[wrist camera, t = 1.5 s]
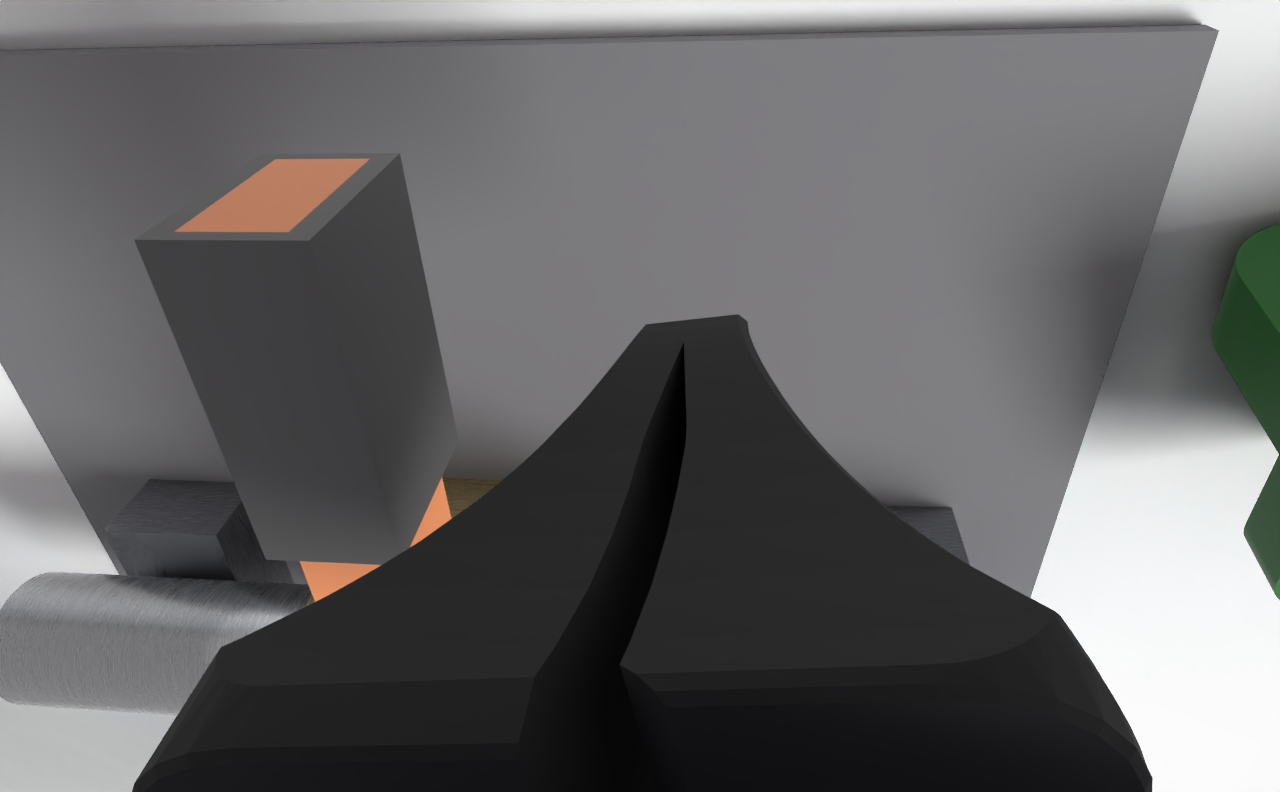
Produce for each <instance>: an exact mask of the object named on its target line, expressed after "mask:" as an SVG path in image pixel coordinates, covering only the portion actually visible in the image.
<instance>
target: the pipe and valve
mask: <svg viewBox="0 0 1280 792" xmlns="http://www.w3.org/2000/svg"><path fill="white" fill-rule="evenodd" d="M442 479H443V483H444V488H445V492H446V496H447V501H448V505H449V510H450V514H451V519H452V518H453V517H455V516H456V515H458V514H459V513H460V512H462V511H463V510H465V509H466V508H467V507H469V506H470V505H472V504H473V503H474V502H476V501H477V500H479V499H480V498H481V497H482V496H484V495H485V494H486V493H487V492H489V491H490V490H491V489H492V488H494V487H495V486H496V485H497V484H498V483H499V482H501V481H502V480H493V479H463V478H442ZM885 506H886V507H888V508H889V509H890V510H892V511H893V512H894V513H896V514H897V515H898V516H899V517H901V518H902V519H903V520H905V521H906V522H907V523H909V524H910V525H911V526H912V527H914V528H915V529H916V530H918V531H919V532H920V533H922V534H923V535H924V536H925V537H927V538H928V539H929V540H931V541H932V542H934V543H935V544H937V545H939V546H940V547H942V548H943V549H945V550H946V551H948V552H949V553H951V554H952V555H954V556H955V557H957V558H958V559H960V560H962V561H963V562H965V563H967V564H968V565H970V563H969V560H968V557H967V554H966V551H965V547H964V544H963V541H962V538H961V535H960V532H959V528H958V525H957V522H956V519H955V516H954V513H953V509H952V508H947V507H919V506H891V505H885ZM103 532H104V534H105V535H106V537H107V539H108V541H109V543H110V544H111V546H112V548H113V550H114V552H115V553H116V555H117V557H118V559H119V561H120V562H121V564H122V566H123V568H124V570H125V571H126V573H127V575H128V576H126V575H106V574H85V573H64V572H49V573H44V574H41V575H38V576H36V577H34V578H32V579H30V580H28V581H27V582H25V583H24V584H23V585H21V586H20V587H19V588H18V589H17V590H16V591H15V592H14V593H13V594H12V595H11V596H10V597H9V599H8V600H7V601H6V602H5V604H4V605H3V607H2V608H1V610H0V696H1V697H2V698H3V699H5V700H6V701H8V702H11V703H14V704H18V705H33V706H48V707H63V708H78V709H93V710H108V711H123V712H138V713H153V714H168V715H178V714H179V712H180V710H181V709H182V707H183V706H184V704H185V703H186V701H187V699H188V698H189V696H190V695H191V693H192V691H193V690H194V688H195V687H196V685H197V684H198V682H199V680H200V679H201V677H202V676H203V674H204V672H205V671H206V669H207V668H208V666H209V665H210V663H211V661H212V660H213V658H214V657H215V655H216V654H217V652H218V651H219V649H220V648H221V647H222V646H224V645H227V644H229V643H231V642H233V641H236V640H238V639H240V638H242V637H244V636H246V635H249V634H251V633H253V632H255V631H257V630H259V629H261V628H263V627H265V626H267V625H269V624H271V623H273V622H275V621H277V620H279V619H281V618H283V617H285V616H287V615H290V614H292V613H294V612H296V611H298V610H300V609H302V608H304V607H306V606H308V605H310V604H312V603H314V602H315V600H314V598H313V595H312V593H311V590H310V587H309V585H308V584H294V581H293V579H292V576H291V574H290V571H289V568H288V566H287V563H286V561H285V560H266V559H265V556H264V554H263V551H262V549H261V546H260V544H259V542H258V539H257V537H256V534H255V532H254V529H253V527H252V525H251V522H250V520H249V517H248V515H247V512H246V510H245V508H244V505H243V503H242V500H241V498H240V495H239V493H238V491H237V488H236V486H235V483H234V482H218V481H189V480H161V479H149V480H148V481H147V483H146V484H145V485H144V486H143V487H142V488H141V489H140V490H139V491H138V493H137V494H136V495H135V496H134V497H133V498H132V499H131V500H130V501H129V502H128V504H127V505H126V506H125V507H124V508H123V509H122V510H121V511H120V512H119V514H118V515H117V516H116V517H115V518H114V519H113V520H112V521H111V522H110V524H109V525H108V526H107V527H106V528H105V529H104V530H103Z"/></svg>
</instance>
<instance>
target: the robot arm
mask: <svg viewBox="0 0 1280 792" xmlns="http://www.w3.org/2000/svg"><path fill="white" fill-rule="evenodd" d="M132 792H1152V776H1151V774H1150V772H1149V770H1148V768H1147V766H1146V763H1145V760H1144V757H1143V754H1142V751H1141V749H1140V746H1139V744H1138V742H1137V740H1136V738H1135V735H1134V733H1133V731H1132V729H1131V727H1130V725H1129V723H1128V721H1127V720H1126V718H1125V716H1124V714H1123V712H1122V711H1121V709H1120V707H1119V705H1118V703H1117V702H1116V700H1115V699H1114V697H1113V695H1112V694H1111V692H1110V690H1109V689H1108V687H1107V685H1106V684H1105V682H1104V681H1103V679H1102V677H1101V676H1100V674H1099V672H1098V671H1097V669H1096V667H1095V666H1094V664H1093V663H1092V661H1091V660H1090V658H1089V657H1088V655H1087V654H1086V652H1085V651H1084V649H1083V648H1082V646H1081V645H1080V643H1079V642H1078V640H1077V639H1076V637H1075V636H1074V635H1073V633H1072V632H1071V630H1070V629H1069V627H1068V626H1067V625H1066V623H1065V622H1064V620H1063V619H1062V618H1061V616H1060V615H1059V614H1057V613H1056V612H1055V611H1053V610H1051V609H1050V608H1048V607H1046V606H1044V605H1042V604H1040V603H1038V602H1037V601H1035V600H1033V599H1031V598H1029V597H1027V596H1025V595H1024V594H1022V593H1020V592H1018V591H1016V590H1014V589H1012V588H1011V587H1009V586H1007V585H1005V584H1003V583H1001V582H1000V581H998V580H996V579H994V578H992V577H990V576H988V575H987V574H985V573H983V572H981V571H979V570H977V569H975V568H974V567H972V566H970V565H968V564H967V563H965V562H963V561H962V560H960V559H958V558H957V557H955V556H954V555H952V554H951V553H949V552H948V551H946V550H945V549H943V548H942V547H940V546H939V545H937V544H935V543H934V542H932V541H931V540H929V539H928V538H927V537H925V536H924V535H923V534H922V533H920V532H919V531H918V530H916V529H915V528H914V527H912V526H911V525H910V524H909V523H907V522H906V521H905V520H903V519H902V518H901V517H899V516H898V515H897V514H896V513H894V512H893V511H892V510H890V509H889V508H888V507H886V506H885V505H884V504H883V503H881V502H880V501H879V500H877V499H876V498H875V497H874V496H873V495H872V494H871V493H870V492H868V491H867V490H866V489H865V488H864V487H863V486H862V485H861V484H860V483H859V482H858V481H856V480H855V479H854V478H853V477H852V476H851V475H850V474H849V473H848V472H847V471H846V470H845V469H844V468H843V467H842V466H841V465H840V464H839V463H838V462H837V461H836V460H835V459H834V458H833V457H832V456H831V455H830V454H829V453H828V452H827V451H826V450H825V449H824V447H823V446H822V445H821V444H820V443H819V442H818V441H817V439H816V438H815V437H814V436H813V435H812V434H811V433H810V431H809V430H808V429H807V428H806V426H805V425H804V424H803V422H802V421H801V420H800V419H799V417H798V416H797V415H796V414H795V412H794V411H793V410H792V408H791V407H790V405H789V404H788V403H787V401H786V400H785V399H784V397H783V396H782V394H781V392H780V391H779V389H778V388H777V386H776V385H775V383H774V382H773V380H772V378H771V377H770V375H769V374H768V372H767V370H766V369H765V367H764V365H763V363H762V361H761V359H760V357H759V355H758V353H757V351H756V349H755V347H754V345H753V342H752V340H751V337H750V334H749V327H748V321H746V320H745V319H744V318H743V317H741V316H740V315H739V314H736V315H726V316H717V317H708V318H699V319H690V320H681V321H672V322H663V323H654V324H646V325H645V326H644V327H643V328H642V329H641V331H640V332H639V333H638V334H637V335H636V337H635V338H634V339H633V340H632V341H631V343H630V344H629V345H628V346H627V348H626V349H625V350H624V351H623V353H622V354H621V355H620V357H619V358H618V359H617V360H616V362H615V363H614V364H613V365H612V367H611V368H610V369H609V370H608V372H607V373H606V374H605V375H604V377H603V378H602V379H601V380H600V382H599V383H598V384H597V385H596V386H595V387H594V389H593V390H592V391H591V392H590V393H589V395H588V396H587V397H586V398H585V399H584V400H583V402H582V403H581V404H580V405H579V406H578V407H577V408H576V410H575V411H574V412H573V413H572V414H571V415H570V416H569V417H568V418H567V419H566V420H565V421H564V422H563V423H562V424H561V425H560V426H559V427H558V428H557V429H556V431H555V432H554V433H553V434H552V435H551V436H550V437H549V438H548V439H547V440H546V441H545V442H544V443H543V444H542V445H541V446H540V447H539V448H538V449H537V450H536V451H535V452H534V453H533V454H532V455H531V456H529V457H528V458H527V459H526V460H525V461H524V462H523V463H522V464H521V465H520V466H518V467H517V468H516V469H515V470H514V471H513V472H511V473H510V474H509V475H508V476H507V477H505V478H504V479H503V480H502V481H501V482H499V483H498V484H497V485H496V486H495V487H494V488H492V489H491V490H490V491H489V492H487V493H486V494H485V495H484V496H482V497H481V498H480V499H479V500H477V501H476V502H474V503H473V504H472V505H470V506H469V507H467V508H466V509H465V510H463V511H462V512H460V513H459V514H458V515H456V516H455V517H453V518H452V519H451V520H449V521H448V522H446V523H445V524H443V525H442V526H441V527H439V528H438V529H436V530H435V531H434V532H432V533H431V534H429V535H428V536H427V537H425V538H424V539H422V540H421V541H419V542H418V543H416V544H415V545H413V546H412V547H410V548H408V549H407V550H405V551H404V552H402V553H400V554H399V555H397V556H396V557H394V558H392V559H391V560H389V561H387V562H386V563H384V564H383V565H381V566H379V567H378V568H376V569H374V570H372V571H371V572H369V573H367V574H365V575H364V576H362V577H360V578H358V579H357V580H355V581H353V582H351V583H350V584H348V585H346V586H344V587H342V588H341V589H339V590H337V591H335V592H333V593H331V594H329V595H328V596H326V597H324V598H322V599H320V600H318V601H316V602H314V603H312V604H310V605H308V606H306V607H304V608H302V609H300V610H298V611H296V612H294V613H292V614H290V615H287V616H285V617H283V618H281V619H279V620H277V621H275V622H273V623H271V624H269V625H267V626H265V627H263V628H261V629H259V630H257V631H255V632H253V633H251V634H249V635H246V636H244V637H242V638H240V639H238V640H236V641H233V642H231V643H229V644H227V645H224V646H222V647H221V648H220V649H219V651H218V652H217V654H216V655H215V657H214V658H213V660H212V661H211V663H210V665H209V666H208V668H207V669H206V671H205V672H204V674H203V676H202V677H201V679H200V680H199V682H198V684H197V685H196V687H195V688H194V690H193V691H192V693H191V695H190V696H189V698H188V699H187V701H186V703H185V704H184V706H183V707H182V709H181V710H180V712H179V714H178V715H177V717H176V718H175V720H174V722H173V723H172V725H171V726H170V728H169V730H168V731H167V733H166V734H165V736H164V737H163V739H162V741H161V742H160V744H159V745H158V747H157V749H156V750H155V752H154V753H153V755H152V756H151V758H150V760H149V761H148V763H147V764H146V766H145V768H144V769H143V771H142V772H141V774H140V776H139V777H138V779H137V780H136V782H135V784H134V787H133V791H132Z"/></svg>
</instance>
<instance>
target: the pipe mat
mask: <svg viewBox="0 0 1280 792" xmlns="http://www.w3.org/2000/svg"><path fill="white" fill-rule="evenodd" d="M1218 32H1219V30H1216V29H1214V28H1211V27H1209V26H1207V25H1172V26H1125V27H1078V28H1031V29H984V30H937V31H890V32H843V33H796V34H749V35H702V36H655V37H607V38H560V39H513V40H466V41H419V42H372V43H325V44H278V45H231V46H184V47H137V48H90V49H43V50H0V362H1V364H2V366H3V368H4V370H5V371H6V373H7V375H8V377H9V379H10V380H11V382H12V384H13V386H14V387H15V389H16V391H17V393H18V395H19V396H20V398H21V400H22V402H23V403H24V405H25V407H26V409H27V411H28V412H29V414H30V416H31V418H32V420H33V421H34V423H35V425H36V427H37V428H38V430H39V432H40V434H41V436H42V437H43V439H44V441H45V443H46V444H47V446H48V448H49V450H50V452H51V453H52V455H53V457H54V459H55V461H56V462H57V464H58V466H59V468H60V469H61V471H62V473H63V475H64V477H65V478H66V480H67V482H68V484H69V485H70V487H71V489H72V491H73V493H74V494H75V496H76V498H77V500H78V502H79V503H80V505H81V507H82V509H83V510H84V512H85V514H86V516H87V518H88V519H89V521H90V523H91V525H92V526H93V528H94V530H95V532H96V534H97V535H98V537H99V539H100V541H101V542H102V544H103V546H104V548H105V550H106V551H107V553H108V555H109V557H110V559H111V560H112V562H113V564H114V566H115V567H116V569H117V571H118V573H119V575H126V576H128V575H127V573H126V571H125V570H124V568H123V566H122V564H121V562H120V561H119V559H118V557H117V555H116V553H115V552H114V550H113V548H112V546H111V544H110V543H109V541H108V539H107V537H106V535H105V534H104V532H103V530H104V529H105V528H106V527H107V526H108V525H109V524H110V522H111V521H112V520H113V519H114V518H115V517H116V516H117V515H118V514H119V512H120V511H121V510H122V509H123V508H124V507H125V506H126V505H127V504H128V502H129V501H130V500H131V499H132V498H133V497H134V496H135V495H136V494H137V493H138V491H139V490H140V489H141V488H142V487H143V486H144V485H145V484H146V483H147V481H148V480H149V479H161V480H189V481H218V482H234V481H233V479H232V476H231V474H230V471H229V469H228V466H227V464H226V462H225V459H224V457H223V454H222V452H221V449H220V447H219V445H218V442H217V440H216V437H215V435H214V432H213V430H212V428H211V425H210V423H209V420H208V418H207V415H206V413H205V411H204V408H203V406H202V403H201V401H200V399H199V396H198V394H197V391H196V389H195V386H194V384H193V382H192V379H191V377H190V374H189V372H188V369H187V367H186V365H185V362H184V360H183V357H182V355H181V352H180V350H179V348H178V345H177V343H176V340H175V338H174V335H173V333H172V331H171V328H170V326H169V323H168V321H167V319H166V316H165V314H164V311H163V309H162V306H161V304H160V302H159V299H158V297H157V294H156V292H155V289H154V287H153V285H152V282H151V280H150V277H149V275H148V272H147V270H146V268H145V265H144V263H143V260H142V258H141V255H140V253H139V251H138V248H137V246H136V243H135V241H134V240H135V239H136V238H138V237H139V236H140V235H142V234H143V233H145V232H146V231H148V230H149V229H151V228H152V227H154V226H155V225H157V224H158V223H160V222H161V221H162V220H164V219H165V218H167V217H168V216H170V215H171V214H173V213H174V212H176V211H177V210H179V209H180V208H182V207H183V206H184V205H186V204H187V203H189V202H190V201H192V200H193V199H195V198H196V197H198V196H199V195H201V194H202V193H204V192H205V191H206V190H208V189H209V188H211V187H212V186H214V185H215V184H217V183H218V182H220V181H221V180H223V179H224V178H225V177H227V176H228V175H230V174H231V173H233V172H234V171H236V170H237V169H239V168H240V167H242V166H243V165H245V164H246V163H247V162H249V161H250V160H252V159H253V158H255V157H256V156H258V155H259V154H340V153H400V156H401V161H402V166H403V171H404V175H405V180H406V185H407V190H408V195H409V200H410V205H411V210H412V215H413V219H414V224H415V229H416V234H417V239H418V244H419V249H420V254H421V259H422V264H423V268H424V273H425V278H426V283H427V288H428V293H429V298H430V303H431V308H432V312H433V317H434V322H435V327H436V332H437V337H438V342H439V347H440V352H441V357H442V361H443V366H444V371H445V376H446V381H447V386H448V391H449V396H450V401H451V405H452V410H453V415H454V420H455V425H456V430H457V435H458V443H457V445H456V447H455V449H454V451H453V454H452V456H451V458H450V460H449V462H448V465H447V467H446V469H445V471H444V473H443V476H442V478H463V479H493V480H503V479H504V478H505V477H507V476H508V475H509V474H510V473H511V472H513V471H514V470H515V469H516V468H517V467H518V466H520V465H521V464H522V463H523V462H524V461H525V460H526V459H527V458H528V457H529V456H531V455H532V454H533V453H534V452H535V451H536V450H537V449H538V448H539V447H540V446H541V445H542V444H543V443H544V442H545V441H546V440H547V439H548V438H549V437H550V436H551V435H552V434H553V433H554V432H555V431H556V429H557V428H558V427H559V426H560V425H561V424H562V423H563V422H564V421H565V420H566V419H567V418H568V417H569V416H570V415H571V414H572V413H573V412H574V411H575V410H576V408H577V407H578V406H579V405H580V404H581V403H582V402H583V400H584V399H585V398H586V397H587V396H588V395H589V393H590V392H591V391H592V390H593V389H594V387H595V386H596V385H597V384H598V383H599V382H600V380H601V379H602V378H603V377H604V375H605V374H606V373H607V372H608V370H609V369H610V368H611V367H612V365H613V364H614V363H615V362H616V360H617V359H618V358H619V357H620V355H621V354H622V353H623V351H624V350H625V349H626V348H627V346H628V345H629V344H630V343H631V341H632V340H633V339H634V338H635V337H636V335H637V334H638V333H639V332H640V331H641V329H642V328H643V327H644V326H645V325H646V324H654V323H663V322H672V321H681V320H690V319H699V318H708V317H717V316H726V315H736V314H739V315H740V316H741V317H743V318H744V319H745V320H746V321H748V327H749V334H750V337H751V340H752V342H753V345H754V347H755V349H756V351H757V353H758V355H759V357H760V359H761V361H762V363H763V365H764V367H765V369H766V370H767V372H768V374H769V375H770V377H771V378H772V380H773V382H774V383H775V385H776V386H777V388H778V389H779V391H780V392H781V394H782V396H783V397H784V399H785V400H786V401H787V403H788V404H789V405H790V407H791V408H792V410H793V411H794V412H795V414H796V415H797V416H798V417H799V419H800V420H801V421H802V422H803V424H804V425H805V426H806V428H807V429H808V430H809V431H810V433H811V434H812V435H813V436H814V437H815V438H816V439H817V441H818V442H819V443H820V444H821V445H822V446H823V447H824V449H825V450H826V451H827V452H828V453H829V454H830V455H831V456H832V457H833V458H834V459H835V460H836V461H837V462H838V463H839V464H840V465H841V466H842V467H843V468H844V469H845V470H846V471H847V472H848V473H849V474H850V475H851V476H852V477H853V478H854V479H855V480H856V481H858V482H859V483H860V484H861V485H862V486H863V487H864V488H865V489H866V490H867V491H868V492H870V493H871V494H872V495H873V496H874V497H875V498H876V499H877V500H879V501H880V502H881V503H883V504H884V505H891V506H919V507H947V508H952V509H953V513H954V516H955V519H956V522H957V525H958V528H959V532H960V535H961V538H962V541H963V544H964V547H965V551H966V554H967V557H968V560H969V563H970V566H972V567H974V568H975V569H977V570H979V571H981V572H983V573H985V574H987V575H988V576H990V577H992V578H994V579H996V580H998V581H1000V582H1001V583H1003V584H1005V585H1007V586H1009V587H1011V588H1012V589H1014V590H1016V591H1018V592H1020V593H1022V594H1024V595H1025V596H1027V597H1029V598H1030V597H1031V594H1032V591H1033V588H1034V585H1035V582H1036V579H1037V576H1038V573H1039V570H1040V567H1041V564H1042V561H1043V558H1044V555H1045V552H1046V549H1047V546H1048V543H1049V540H1050V537H1051V534H1052V531H1053V528H1054V525H1055V522H1056V519H1057V516H1058V513H1059V510H1060V507H1061V504H1062V501H1063V498H1064V495H1065V492H1066V489H1067V486H1068V483H1069V480H1070V477H1071V474H1072V471H1073V468H1074V465H1075V462H1076V458H1077V455H1078V452H1079V449H1080V446H1081V443H1082V440H1083V437H1084V434H1085V431H1086V428H1087V425H1088V422H1089V419H1090V416H1091V413H1092V410H1093V407H1094V404H1095V401H1096V398H1097V395H1098V392H1099V389H1100V386H1101V383H1102V380H1103V377H1104V374H1105V371H1106V368H1107V365H1108V362H1109V359H1110V356H1111V353H1112V350H1113V347H1114V344H1115V341H1116V338H1117V335H1118V332H1119V329H1120V326H1121V323H1122V320H1123V317H1124V314H1125V311H1126V308H1127V305H1128V302H1129V299H1130V296H1131V293H1132V290H1133V287H1134V284H1135V281H1136V278H1137V275H1138V272H1139V269H1140V266H1141V263H1142V260H1143V257H1144V254H1145V251H1146V248H1147V245H1148V242H1149V239H1150V236H1151V233H1152V230H1153V227H1154V224H1155V221H1156V218H1157V215H1158V212H1159V209H1160V206H1161V203H1162V200H1163V197H1164V194H1165V191H1166V188H1167V185H1168V182H1169V179H1170V176H1171V173H1172V170H1173V167H1174V164H1175V161H1176V158H1177V155H1178V152H1179V149H1180V146H1181V143H1182V140H1183V137H1184V134H1185V131H1186V128H1187V125H1188V122H1189V119H1190V116H1191V113H1192V110H1193V107H1194V104H1195V101H1196V98H1197V95H1198V92H1199V89H1200V86H1201V83H1202V80H1203V77H1204V74H1205V71H1206V68H1207V65H1208V62H1209V59H1210V56H1211V53H1212V50H1213V47H1214V44H1215V41H1216V38H1217V35H1218ZM286 563H287V566H288V568H289V571H290V574H291V576H292V579H293V581H294V584H308V582H307V579H306V577H305V574H304V572H303V569H302V566H301V564H300V561H286Z"/></svg>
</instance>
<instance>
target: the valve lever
mask: <svg viewBox="0 0 1280 792" xmlns="http://www.w3.org/2000/svg"><path fill="white" fill-rule="evenodd" d="M134 241H135V243H136V246H137V248H138V251H139V253H140V255H141V258H142V260H143V263H144V265H145V268H146V270H147V272H148V275H149V277H150V280H151V282H152V285H153V287H154V289H155V292H156V294H157V297H158V299H159V302H160V304H161V306H162V309H163V311H164V314H165V316H166V319H167V321H168V323H169V326H170V328H171V331H172V333H173V335H174V338H175V340H176V343H177V345H178V348H179V350H180V352H181V355H182V357H183V360H184V362H185V365H186V367H187V369H188V372H189V374H190V377H191V379H192V382H193V384H194V386H195V389H196V391H197V394H198V396H199V399H200V401H201V403H202V406H203V408H204V411H205V413H206V415H207V418H208V420H209V423H210V425H211V428H212V430H213V432H214V435H215V437H216V440H217V442H218V445H219V447H220V449H221V452H222V454H223V457H224V459H225V462H226V464H227V466H228V469H229V471H230V474H231V476H232V479H233V481H234V483H235V486H236V488H237V491H238V493H239V495H240V498H241V500H242V503H243V505H244V508H245V510H246V512H247V515H248V517H249V520H250V522H251V525H252V527H253V529H254V532H255V534H256V537H257V539H258V542H259V544H260V546H261V549H262V551H263V554H264V556H265V559H266V560H285V561H300V564H301V566H302V569H303V572H304V574H305V577H306V579H307V582H308V585H309V587H310V590H311V593H312V595H313V598H314V600H315V602H316V601H318V600H320V599H322V598H324V597H326V596H328V595H329V594H331V593H333V592H335V591H337V590H339V589H341V588H342V587H344V586H346V585H348V584H350V583H351V582H353V581H355V580H357V579H358V578H360V577H362V576H364V575H365V574H367V573H369V572H371V571H372V570H374V569H376V568H378V567H379V566H381V565H383V564H384V563H386V562H387V561H389V560H391V559H392V558H394V557H396V556H397V555H399V554H400V553H402V552H404V551H405V550H407V549H408V548H410V547H412V546H413V545H415V544H416V543H418V542H419V541H421V540H422V539H424V538H425V537H427V536H428V535H429V534H431V533H432V532H434V531H435V530H436V529H438V528H439V527H441V526H442V525H443V524H445V523H446V522H448V521H449V520H451V514H450V510H449V505H448V501H447V496H446V492H445V488H444V483H443V479H442V476H443V473H444V471H445V469H446V467H447V465H448V462H449V460H450V458H451V456H452V454H453V451H454V449H455V447H456V445H457V443H458V435H457V430H456V425H455V420H454V415H453V410H452V405H451V401H450V396H449V391H448V386H447V381H446V376H445V371H444V366H443V361H442V357H441V352H440V347H439V342H438V337H437V332H436V327H435V322H434V317H433V312H432V308H431V303H430V298H429V293H428V288H427V283H426V278H425V273H424V268H423V264H422V259H421V254H420V249H419V244H418V239H417V234H416V229H415V224H414V219H413V215H412V210H411V205H410V200H409V195H408V190H407V185H406V180H405V175H404V171H403V166H402V161H401V156H400V153H340V154H259V155H258V156H256V157H255V158H253V159H252V160H250V161H249V162H247V163H246V164H245V165H243V166H242V167H240V168H239V169H237V170H236V171H234V172H233V173H231V174H230V175H228V176H227V177H225V178H224V179H223V180H221V181H220V182H218V183H217V184H215V185H214V186H212V187H211V188H209V189H208V190H206V191H205V192H204V193H202V194H201V195H199V196H198V197H196V198H195V199H193V200H192V201H190V202H189V203H187V204H186V205H184V206H183V207H182V208H180V209H179V210H177V211H176V212H174V213H173V214H171V215H170V216H168V217H167V218H165V219H164V220H162V221H161V222H160V223H158V224H157V225H155V226H154V227H152V228H151V229H149V230H148V231H146V232H145V233H143V234H142V235H140V236H139V237H138V238H136V239H135V240H134Z"/></svg>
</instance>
